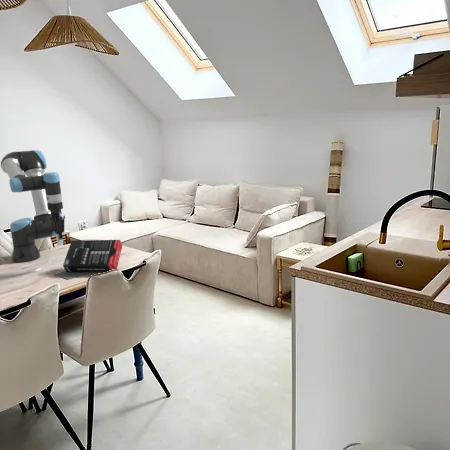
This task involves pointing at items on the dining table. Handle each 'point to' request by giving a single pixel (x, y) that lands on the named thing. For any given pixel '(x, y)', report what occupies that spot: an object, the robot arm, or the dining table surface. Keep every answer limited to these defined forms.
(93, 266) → the graphics card box
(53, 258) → the dining table surface
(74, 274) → the display mat
